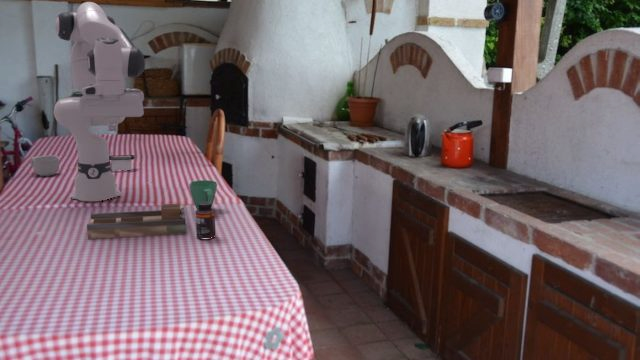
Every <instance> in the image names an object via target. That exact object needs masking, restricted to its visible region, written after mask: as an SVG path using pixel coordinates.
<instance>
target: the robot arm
mask: <svg viewBox="0 0 640 360" xmlns="http://www.w3.org/2000/svg"><path fill="white" fill-rule="evenodd" d="M54 27H55V28H54V29H55V31H56V35H57V36H58V37H59V39H61V40H64V41H67V42H69V41H72V42H74V44H73V45H72V46H71V54H70V70H71V80H72V85H73V87H74V88H75V89H76V90H77V91H78V92H80V93H81V94H82V96H71V97H66V98H61V99H58V100H57V101H56V103H55V105H54V108H53V116H54V119H55V121H56V123H58V124H59V125H60V126H62V127H64V128H65V129H66V130H68V132H69V133H70V134H71V135H72V137H73V138H74V141H75V143H76V148H77V153H78V154H77V156H78V162H77V172H78V174H77V175H75V177H74V193H72V194H71V195H70V199H71V198H72V200H77V199H78V201H82V202H101V201H102V200H103V201H108V200H107V199H109V200H111V199H110V198H112V199H114V198H113V197H115V198H117V197H116V196H120V195H122V194H123V193H122V191H121V190H120V188H119V187H118V184H117V183H116V175H115V174H114V173H112V162H111V160H109V156H110V151H109V142H108V140H107V139H106V138H105V137H104V136H102V135H99V134H97V133H94V132H93V131H91V130H90V127H98V126H99V127H101V126H107V131H108V132H118V131H119V129H118V125H119V124H121V123H122V122H124V120H125V119H126V118H140V117H141V118H142V117H143V116H144V113H145V111H144V105H143V102H144V100H145V95H144V91H143V90H141V89H139V88H125V77H128V78H138V77H139V76H141V74H143V73H144V72H145V68H146V61H145V56H144V54H143V52H142V51H141V50H140V49H139V48H138V47H136V46H135V44H134V43H133V41H132V40H131V39H130V37H129V36H128V35H127V33H126V32H125V31H124V30H123V28H121V27H119V26H117V24H116V21H115V19H114V18H113V17H112V16H108V15H107V14H106V13H105V10H103V8H102V7H101V6H100V5H98V4H97V3H95V2H93V1H86V2H83V3H81V4H80V5H79V6H78V7H77V10H76V12H71V11H65V12H61V13H59V14H58V15H57V17H56V19H55V23H54ZM122 196H123V195H122ZM120 197H121V196H120Z"/></svg>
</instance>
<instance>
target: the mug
mask: <svg viewBox="0 0 640 360" xmlns="http://www.w3.org/2000/svg"><path fill="white" fill-rule="evenodd" d="M217 187H218V183H217V181H214V180H207V179H204V180H201V179H200V180H194V181H191V182H190V183H189V190H190V196H191V197H192V201H193V203H194V205H195V206H194V207H195V208H196V211H197V210H198V209H199V207H198V206H199V205H198V204H199V203H200V202H211V208H212V207H213V204H214V201H215V197H216V194H217V193H216V192H217Z"/></svg>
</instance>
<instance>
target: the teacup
mask: <svg viewBox="0 0 640 360" xmlns="http://www.w3.org/2000/svg"><path fill="white" fill-rule="evenodd" d="M29 160H30V161H29V162H30V164H31V166H32V167H33V170H34V173H35V174H36V175H38V176H39V175H40V176H39V177H44V176H46V177H51V176H50V175H53V176H55V175H56V174H57V173H58V172H60V171H59V170H60V159H59V156H58V155H50V154H49V155H40V156H32V157H31V158H30V159H29Z"/></svg>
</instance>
